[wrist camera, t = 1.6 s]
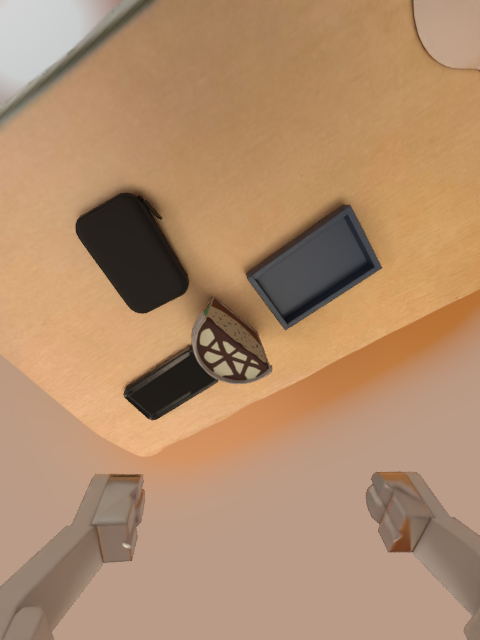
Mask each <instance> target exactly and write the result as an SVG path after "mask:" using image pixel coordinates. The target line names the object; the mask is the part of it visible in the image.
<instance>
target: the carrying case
mask: <svg viewBox="0 0 480 640" xmlns="http://www.w3.org/2000/svg"><path fill="white" fill-rule="evenodd" d="M149 210H150V211H151V212H152V213H153V214H154V215H155V216H156V217H157V218H158V219H160V220H162V217H161V215H160V214H159V213H158V212H157V211H156V209H155V208H154V207H153V206H152V205H151V204H150V203H149V202H148V201H147V200H144V199H143V198H142V196H136V195H134V194H131V193H121V194H118V195H117V196H115V197H113V198H111V199H110V200H108V201H106V202H105V203H103V204H101V205H99V206H98V207H96V208H94V209H92V210H91V211H89V212H87V213H86V214H84V215H82V216H81V217H79V218H78V220H77V222H76V233H77V236H78V237H79V239H80V240H81V242H82V243H83V245H84V246H85V248H86V249H87V250H88V252H89V253H90V254H91V256H92V257H93V259H94V260H95V261H96V263H97V264H98V265H99V267H100V268H101V270H102V271H103V272H104V274H105V275H106V276H107V278H108V279H109V281H110V282H111V283H112V285H113V286H114V288H115V289H116V290H117V292H118V293H119V294H120V296H121V297H122V299H123V300H124V301H125V303H126V304H127V305H128V307H129V308H130V309H131V310H133V311H134V312H137V313H147V312H150V311H152V310H154V309H156V308H158V307H160V306H162V305H164V304H165V303H167V302H169V301H171V300H173V299H175V298H177V297H179V296H181V295H183V294H184V293H185V292H186V291H187V289H188V285H189V279H188V277H187V276H188V275H187V273H186V272H185V270H184V268H183V267H182V265H181V263H180V262H179V260H178V258H177V256H176V255H175V253H174V251H173V250H172V248H171V246H170V245H169V243H168V241H167V239H166V238H165V236H164V234H163V233H162V231H161V229H160V228H159V226H158V224H157V222H156V221H155V219H154V217H153V216H152V214H151V212H150V211H149Z"/></svg>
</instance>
